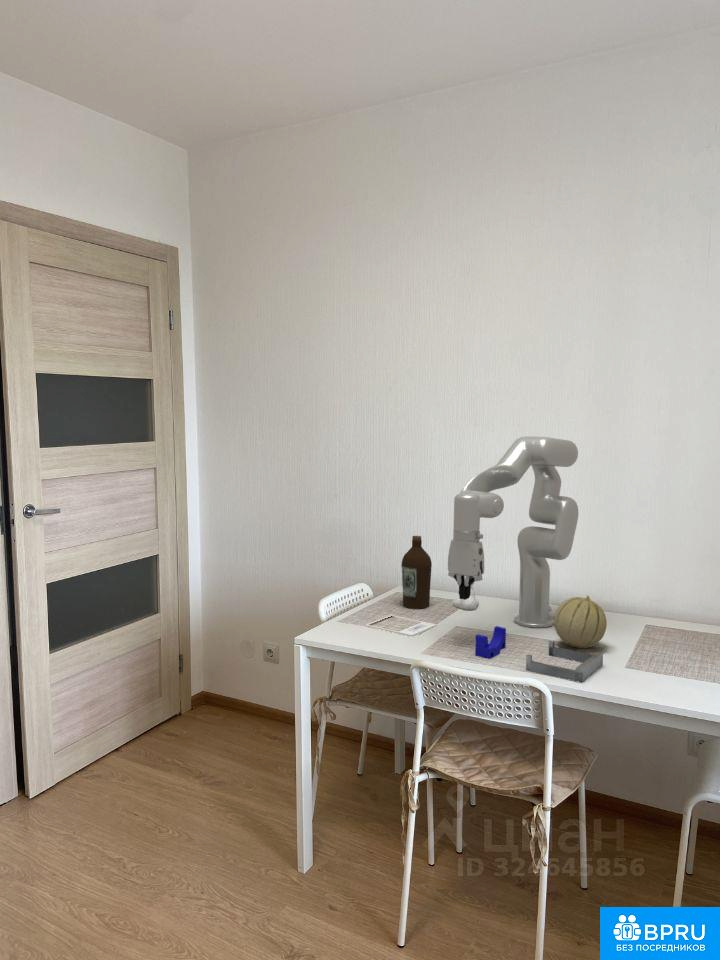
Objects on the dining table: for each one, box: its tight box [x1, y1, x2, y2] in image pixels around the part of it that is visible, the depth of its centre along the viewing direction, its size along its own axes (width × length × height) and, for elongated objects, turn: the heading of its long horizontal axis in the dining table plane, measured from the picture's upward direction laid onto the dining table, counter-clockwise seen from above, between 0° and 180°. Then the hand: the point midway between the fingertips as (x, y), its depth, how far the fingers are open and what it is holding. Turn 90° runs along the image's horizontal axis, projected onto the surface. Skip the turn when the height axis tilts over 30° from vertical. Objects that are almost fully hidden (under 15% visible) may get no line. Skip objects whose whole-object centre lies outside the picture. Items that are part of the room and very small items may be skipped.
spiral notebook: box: [364, 614, 438, 637], centre depth 234 cm, size 15×1×18 cm
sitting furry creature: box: [452, 576, 480, 611], centre depth 256 cm, size 10×9×12 cm
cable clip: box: [474, 625, 507, 660], centre depth 208 cm, size 12×4×6 cm, turn 140°
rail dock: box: [525, 640, 604, 683], centre depth 195 cm, size 16×15×4 cm
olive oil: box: [400, 535, 433, 610], centre depth 258 cm, size 11×11×25 cm
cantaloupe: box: [553, 595, 608, 649], centre depth 213 cm, size 15×15×15 cm
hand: (464, 598), depth 212 cm, fingers closed
